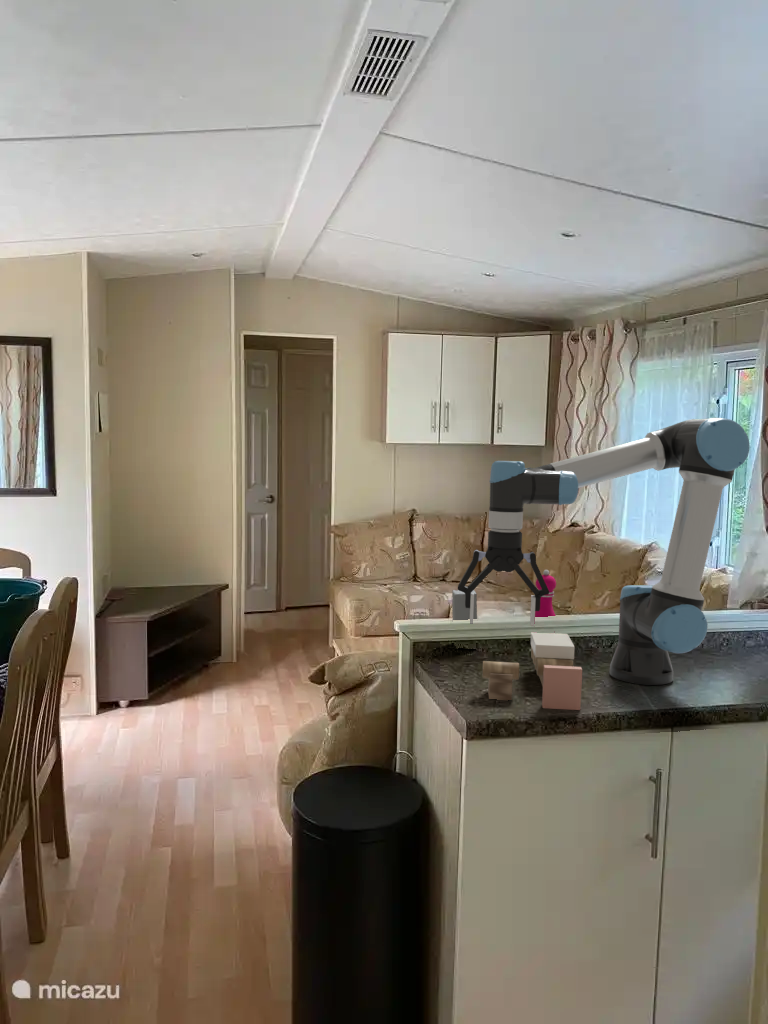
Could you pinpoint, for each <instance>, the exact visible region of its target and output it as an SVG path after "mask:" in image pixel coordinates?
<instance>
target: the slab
mask: <svg viewBox="0 0 768 1024" xmlns="http://www.w3.org/2000/svg"><path fill="white" fill-rule="evenodd" d="M530 646H532V649H533V652H534V655H535V657H539V658H559V659H570V660H575V649H576V648H575V645H574V643H573V641H572V640H571V638H570V636H569V634H568V633H555V632H554V633H537V632H533V631H531V632H530Z"/></svg>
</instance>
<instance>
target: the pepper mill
mask: <svg viewBox="0 0 768 1024" xmlns="http://www.w3.org/2000/svg"><path fill="white" fill-rule="evenodd" d="M542 573H543V574H541V575H542V577H543V579H544V581H545V583H546V586H547V588H548V590H549V594H548V595H543V596H542V597H541V600H540V610H539V611H535V617H548V616H556V613H555V611H554V607H553V597H555V595H554V594H555V591H554V590H555V589H556V587H557V581H556V578H555V577H554V576H552V575H550V571H549V570H548V569H544V570H543V571H542ZM535 586H536V588H537V589H538V590H540V589H542V588H541V586H540V584H539V582H538V579H537V578H536V580H535ZM556 617H557V616H556Z"/></svg>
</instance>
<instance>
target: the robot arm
mask: <svg viewBox="0 0 768 1024" xmlns="http://www.w3.org/2000/svg"><path fill="white" fill-rule="evenodd" d="M749 453H750V439H749V436H748V434H747V432H746V431H745V429H744V427H743V426H742V425H741V424H740V423H738V422H736V421H735V420H733V419H729V418H723V417H711V418H709V417H708V418H690V419H685V420H684V421H680V422H677V423H674V424H672V425H669V426H667V427H663V428H661V429H658V430H654V431H650V432H647V433H646V435H645V436H644V438H640V439H636V440H632V441H629V442H625V443H621V444H618V445H615V446H611V447H607V448H603V449H599V450H596V451H593V452H591V451H590V452H589V453H585V454H580V455H577V456H574V457H570V458H566V459H562V460H557V461H554V462H551V463H548V464H543V465H540V466H536V467H526V466H525V465H526V464H525V462H524V461H517V460H512V461H511V460H495V461H494V462H492V464H491V468H490V478H489V509H488V528H489V529H490V530H488V532H487V533H488V534H487V550H486V551H482V550H480V551H479V550H478V549H475V550H473V555H472V559H471V561H470V563H469V565H468V567H467V569H466V571H465V572H464V573H463V576H462V577H461V579H460V581H459V583H458V585H457V590H459V591H462V592H464V593H465V607H466V608H470V624H473V611H474V593H471V592H472V591H473V590H474V591H475V589H476V588H477V587H478V586H479V585H480V584H481V583H482V582H483V580H485V578H486V577H488V575H489V574H491V572H492V571H493V570H494V572H497V573H499V572H500V573H501V572H505V573H511V572H512V573H513V572H514V571H515V572H516V573H517V574H518V576H520V578H521V579H522V581H523V582H524V583H525V584H526V586H527V587H528V589H530V591H531V592H532V594H534V595H532V594H531V595H530V618H529V625H530V627H535V626H534V624H535V611H539V610H540V600H541V597H542V596H543V595H548V594H549V590H548V588H547V586H546V583H545V581H544V579H543V577H542V575H543V574H542V573H541V571H540V569H539V567H538V563H537V557H536V556H537V555H536V553H535V552H534V551H530V552H529V553H527V552H524V553H523V551H522V547H523V532H522V531H521V530H522V529H523V528H524V527H523V522H524V521H523V520H524V504H526V505H530V504H532V505H558V506H562V505H572V504H574V503H575V502H576V499H577V497H578V493H579V488H583V487H588V486H591V485H595V484H600V483H602V482H606V481H610V480H614V479H617V478H621V477H624V476H625V477H626V476H629V475H632V474H636V473H640V472H643V471H647V470H651V469H654V471H658V472H659V471H663V470H668V469H673V468H678V473H679V475H680V476H681V478H682V480H683V482H682V486H681V491H680V495H679V501H678V504H677V508H676V514H675V517H674V520H673V521H674V522H673V526H672V530H671V534H670V539H669V544H668V548H667V552H666V557H665V559H664V560H665V561H664V566H663V570H662V574H661V578H660V580H659V582H657V583H655V584H654V585H650V584H649V585H647V584H646V585H643V584H642V585H640V584H639V585H635V584H633V585H632V584H630V585H625V586H623V587H622V588H621V592H620V598H619V621H618V622H619V623H618V640H617V641H618V643H617V647H616V649H615V651H614V654H613V657H612V658H611V661H610V663H609V675H610V676H611V677H612V678H614V679H616V680H619V681H622V682H626V683H630V684H637V685H645V686H648V685H649V686H661V685H668V684H671V683H672V682H673V681H674V669H673V665H672V661H671V658H670V654H669V652H670V653H674V654H686V653H688V652H691V651H693V650H694V649H697V648H698V647H699V646H700V645H701V644H702V642H703V641H704V639H705V638H706V636H707V634H708V633H707V632H708V620H707V617H706V616H705V614H704V612H703V609H704V608H703V607H704V602H705V597H704V596H703V593H702V592H701V589H700V588H701V583H702V579H703V575H704V572H705V567H706V562H707V557H708V553H709V551H710V550H709V548H710V545H711V540H712V538H713V537H712V536H713V533H714V528H715V523H716V519H717V514H718V510H719V508H720V507H719V506H720V502H721V498H722V494H723V489H724V487H726V486H727V485H729V484H730V483H732V482H733V477H734V474H735V470H736V469H738V468H739V467H740V466H741V465H743V464H744V463H745V462H746V460H747V459H748V456H749ZM483 558H485V560H487V562H488V564H487V565H486V566H485V567H484V568H483V570H481V572H480V573H479V574H478V575H477V576H476V577H475V578H474V579H473V580H472V581H471V583H469V584H468V586H466V585H467V583H468V581H469V579H470V578H471V575H472V574H473V572H474V570H475V569H476V567H477V564H478V563H479V562H480V561H482V560H483ZM523 559H525V560H526V563H528V564H530V566H531V568H532V571H533V573H534V575H535V577H536V580H537V579H538V582H539V584H540V586H541V588H542V589H540V590H538V588H537V587H536V584H534V583H533V581H532V580H531V579H530V577H529V576H528V575H527V574H526V572H525V571H524V570H523V568H522V567H521V566H520V564H521V563H522V561H523Z"/></svg>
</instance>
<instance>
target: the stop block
mask: <svg viewBox="0 0 768 1024" xmlns="http://www.w3.org/2000/svg"><path fill="white" fill-rule="evenodd" d="M582 681H583V668H582V666H573V667H572V666H552V665H544V671H543V686H542V698H541V707H542V708H543V709H551V710H552V709H553V710H554V709H555V710H556V709H557V710H569V711H571V710H572V711H581V704H582V702H581V701H582V686H583V684H582Z"/></svg>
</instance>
